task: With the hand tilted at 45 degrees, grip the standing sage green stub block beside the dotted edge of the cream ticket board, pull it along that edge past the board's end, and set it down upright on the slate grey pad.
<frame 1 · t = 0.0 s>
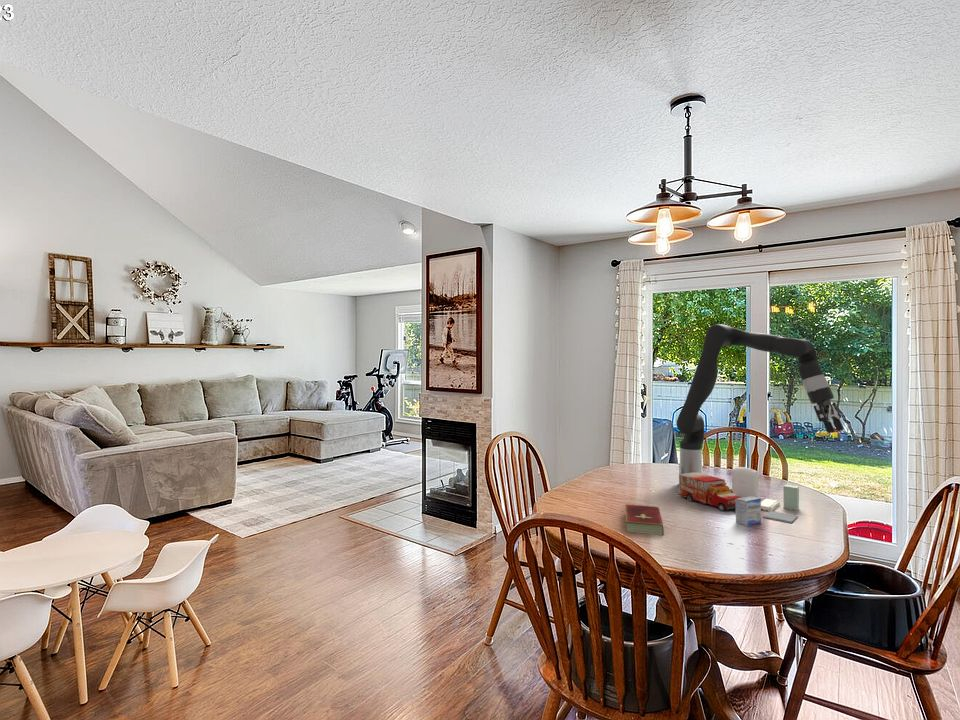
hand: (835, 431, 181), 31 cm above the table, tool tilted 20°, fingers open, 8 cm apart
hardcover book: (643, 525, 174), on the table
medicine box: (748, 523, 175), on the table
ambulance: (710, 504, 200), on the table
photo printer: (745, 497, 208), on the table
stub block: (791, 508, 193), on the table
stub pad: (780, 517, 181), on the table
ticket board: (768, 506, 194), on the table
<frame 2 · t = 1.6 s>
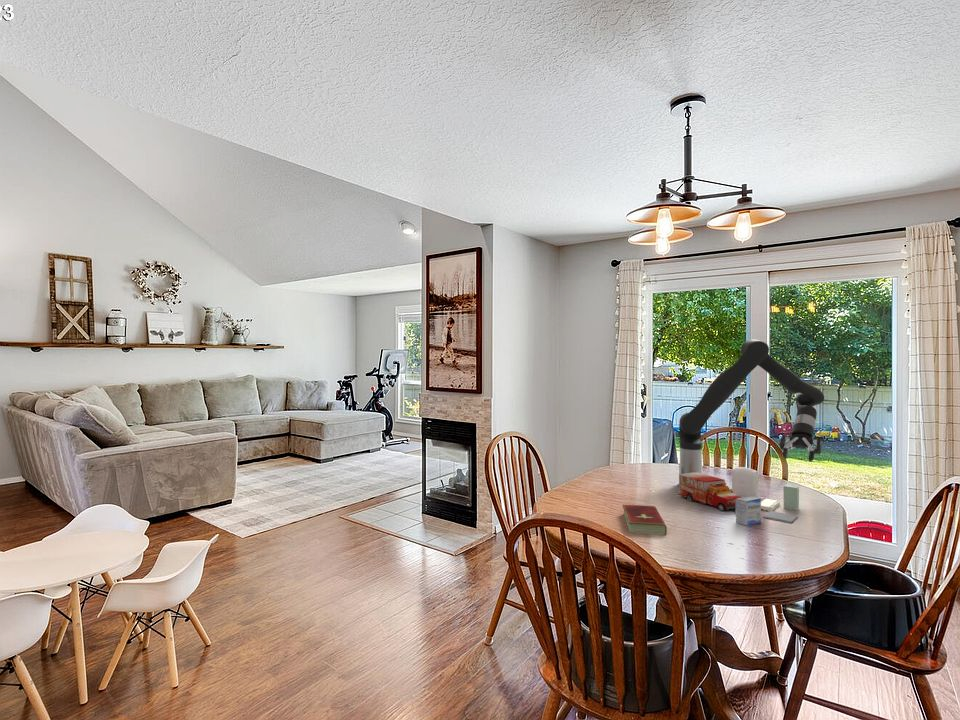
hand: (797, 458, 200), 18 cm above the table, tool tilted 45°, fingers open, 8 cm apart
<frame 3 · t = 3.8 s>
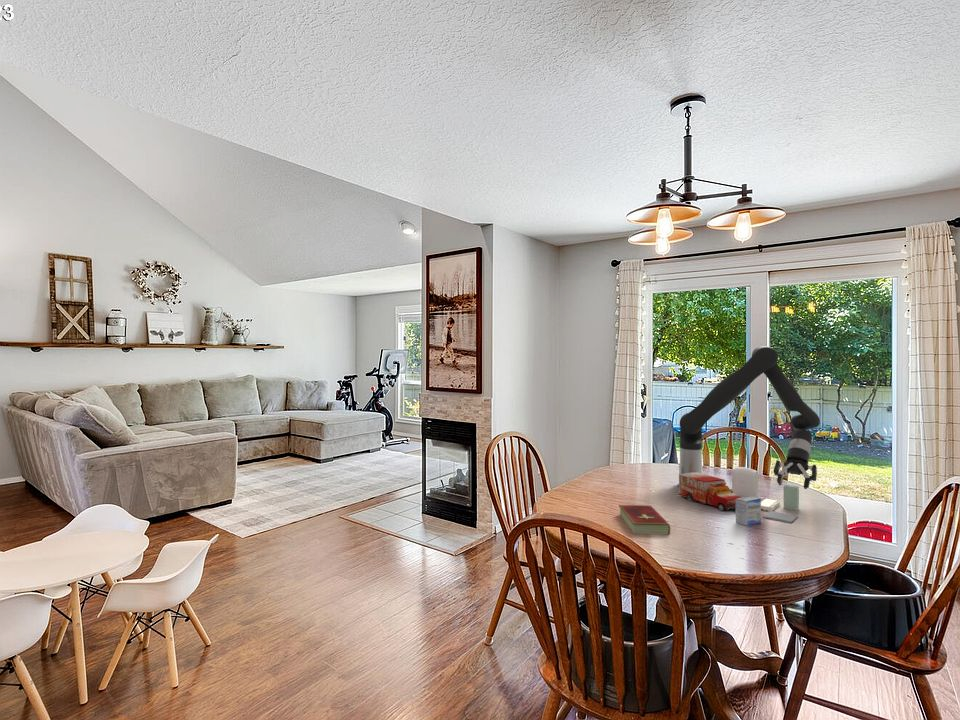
hand: (792, 485, 193), 8 cm above the table, tool tilted 45°, fingers open, 8 cm apart
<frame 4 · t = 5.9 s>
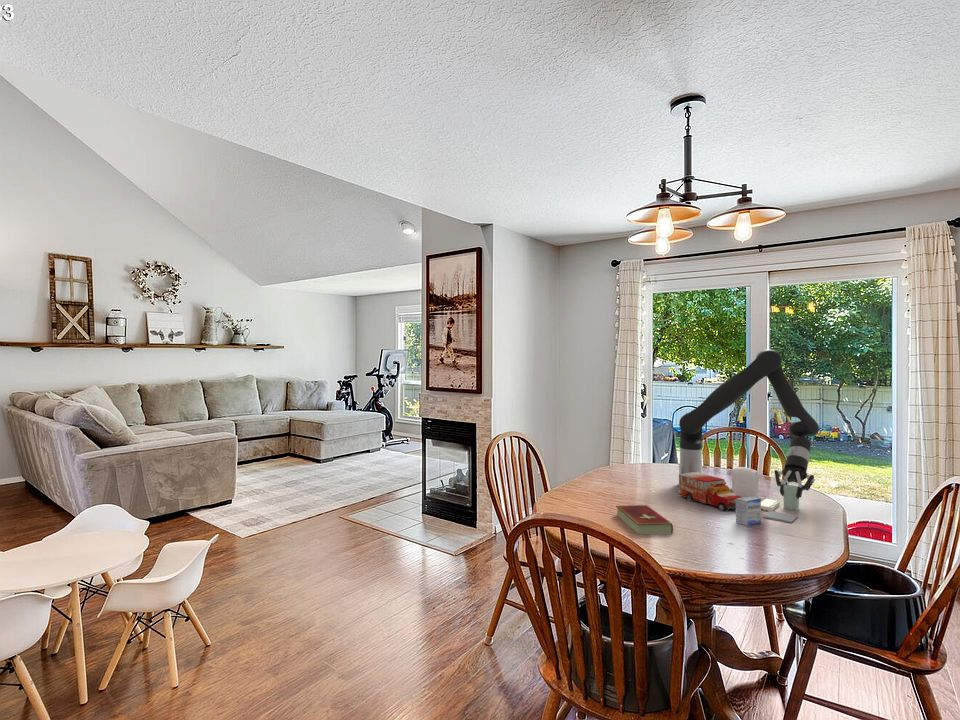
hand: (790, 495, 191), 5 cm above the table, tool tilted 45°, fingers closed on stub block, 4 cm apart
stub block: (791, 508, 192), on the table, touching gripper
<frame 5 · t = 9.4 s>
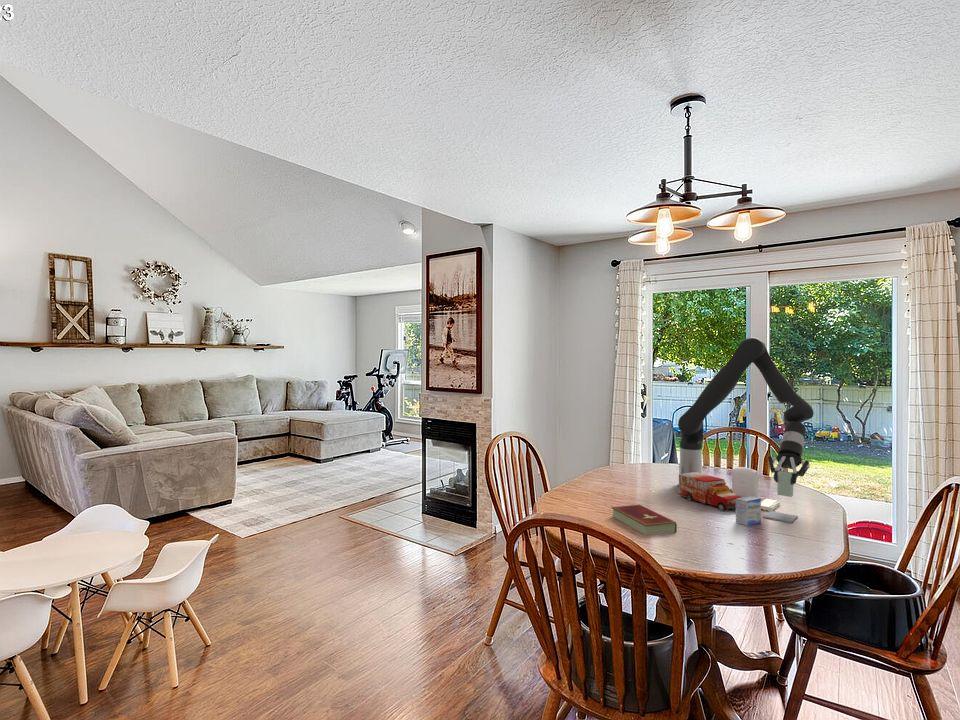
hand: (784, 482, 185), 12 cm above the table, tool tilted 45°, fingers closed on stub block, 4 cm apart
stub block: (785, 495, 186), point 7 cm above the table, touching gripper
when the fingers open (7 cm above the table, at t = 12.9 s): stub block drops 1 cm, resting on stub pad.
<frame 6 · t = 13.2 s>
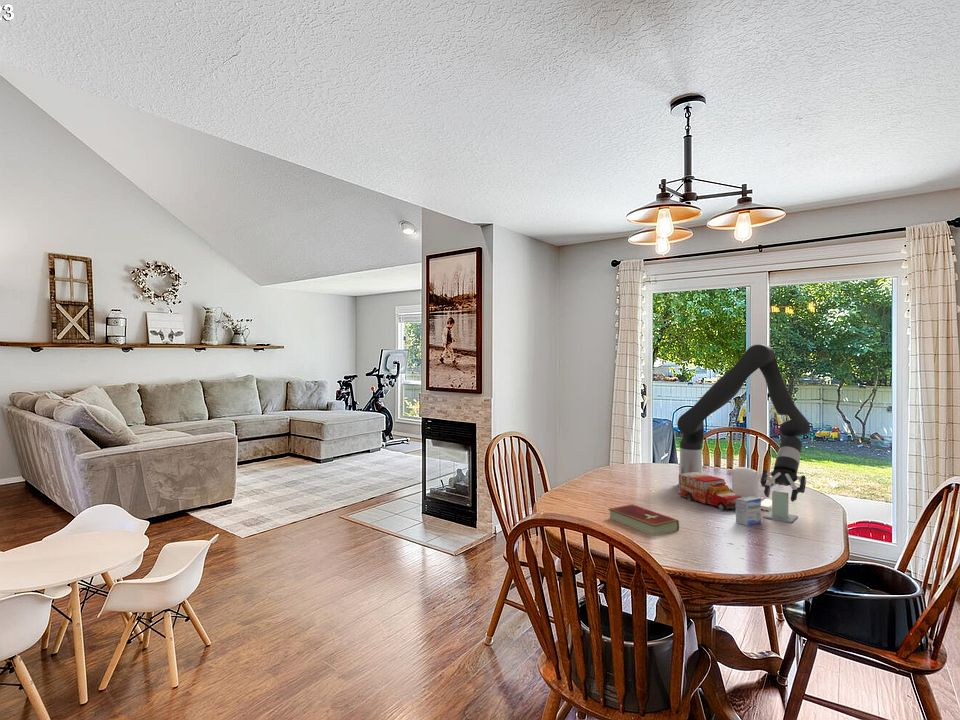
hand: (779, 498, 180), 7 cm above the table, tool tilted 45°, fingers open, 7 cm apart
stub block: (780, 515, 181), point 1 cm above the table, touching stub pad
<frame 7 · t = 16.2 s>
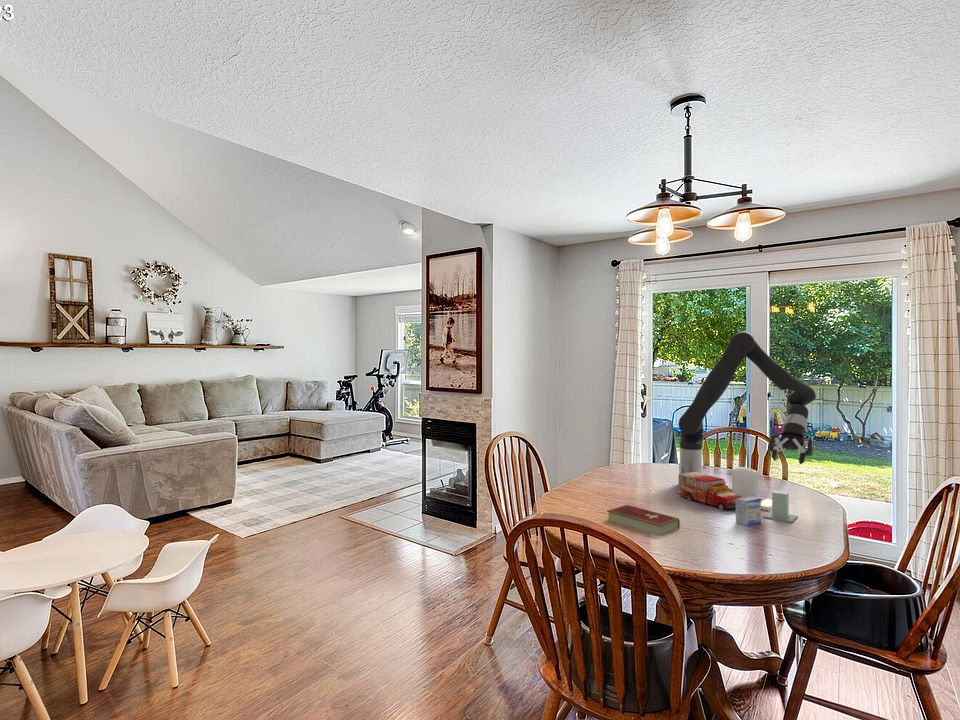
hand: (787, 461, 188), 19 cm above the table, tool tilted 45°, fingers open, 8 cm apart
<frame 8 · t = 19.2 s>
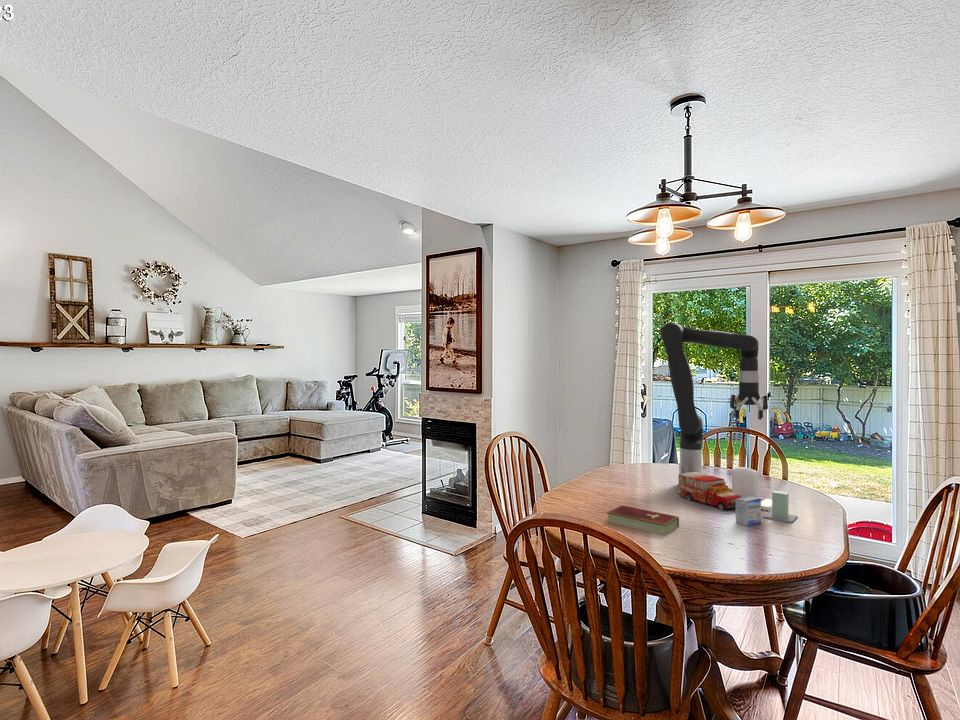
hand: (748, 419, 213), 32 cm above the table, tool pointing down, fingers open, 8 cm apart
at the end: stub block inside the target area on the stub pad (0.1 cm from its centre), point 0.6 cm above the stub pad's base; stub block tilted 0°; the gripper is holding nothing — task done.
